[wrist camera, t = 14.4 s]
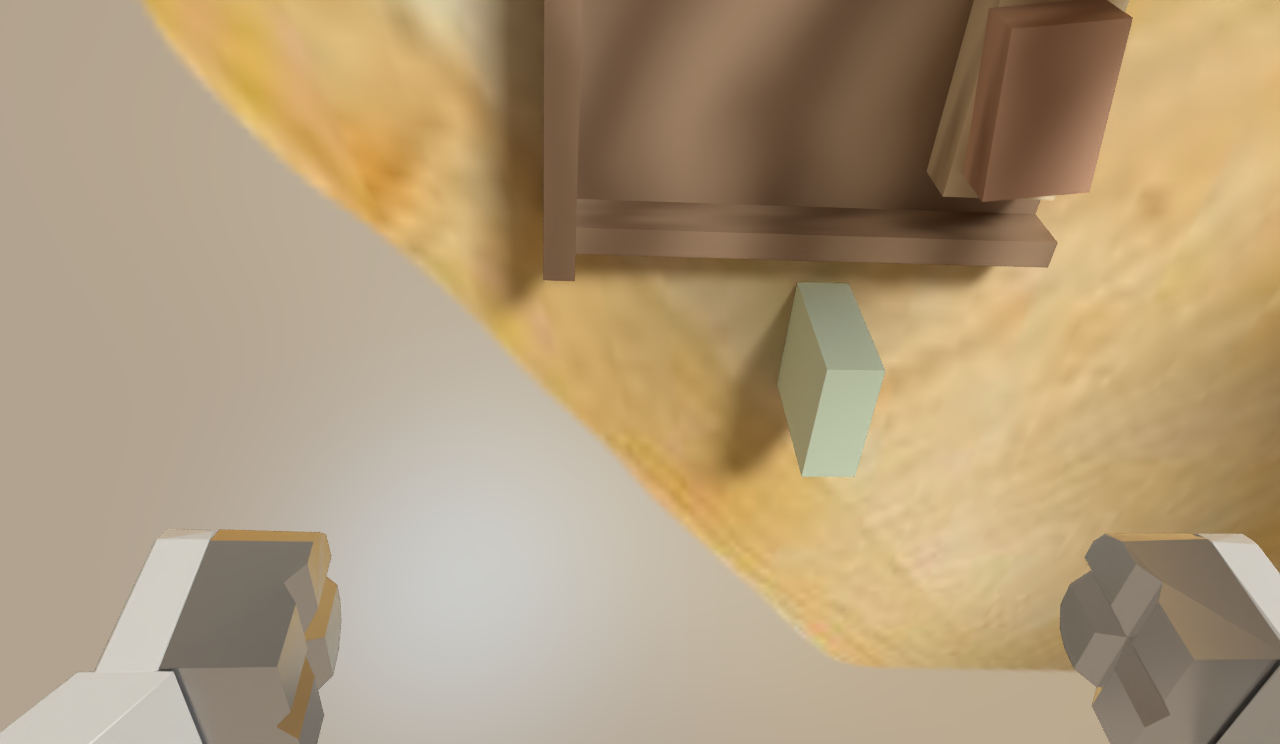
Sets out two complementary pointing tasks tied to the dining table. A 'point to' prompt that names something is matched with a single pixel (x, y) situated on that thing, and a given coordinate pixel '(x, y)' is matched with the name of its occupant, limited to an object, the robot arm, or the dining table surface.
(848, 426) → the pale green brick
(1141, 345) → the dining table surface
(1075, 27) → the offcut
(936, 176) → the offcut
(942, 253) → the tray
